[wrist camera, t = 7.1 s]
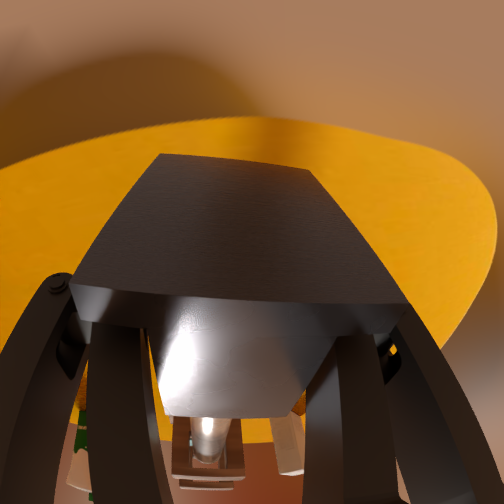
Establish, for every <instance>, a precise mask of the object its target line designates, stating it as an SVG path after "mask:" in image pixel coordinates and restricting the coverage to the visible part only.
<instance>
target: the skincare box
mask: <svg viewBox="0 0 504 504" xmlns="http://www.w3.org/2000/svg"><path fill="white" fill-rule="evenodd" d="M270 424H271V429H272V435H273V441H274V446H275V452H276V457H277V463H278V468H279V474H284V475H291V476H293V475H299V474H303V473H304V459H305V434H304V430H303V425H302V421H301V417H300V416H298V415H297V414H295V413H294V412H292V411H290V413H289V414H288V415H287V417H275V418H270Z"/></svg>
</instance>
